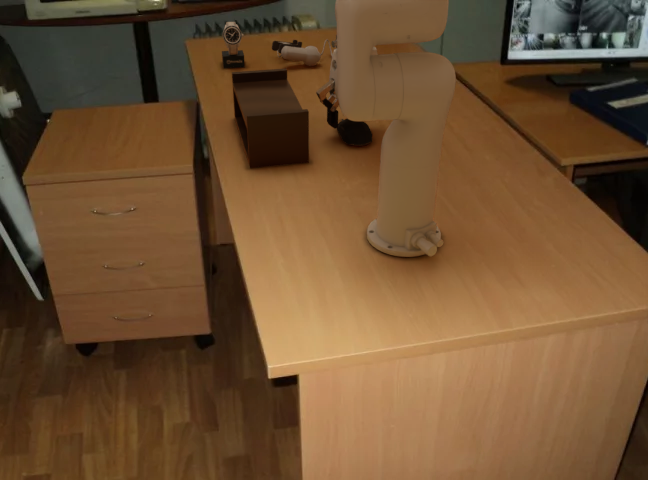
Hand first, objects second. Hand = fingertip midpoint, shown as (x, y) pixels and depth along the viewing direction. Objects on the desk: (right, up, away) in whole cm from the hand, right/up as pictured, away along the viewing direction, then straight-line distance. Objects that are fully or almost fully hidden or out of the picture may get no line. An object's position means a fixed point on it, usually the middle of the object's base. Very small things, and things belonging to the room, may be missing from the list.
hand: (351, 121), depth 158 cm
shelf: (-18, -4, -2) cm, 18 cm away
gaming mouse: (0, -3, +1) cm, 3 cm away
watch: (-30, +23, +36) cm, 52 cm away
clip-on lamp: (-10, +25, +39) cm, 47 cm away
